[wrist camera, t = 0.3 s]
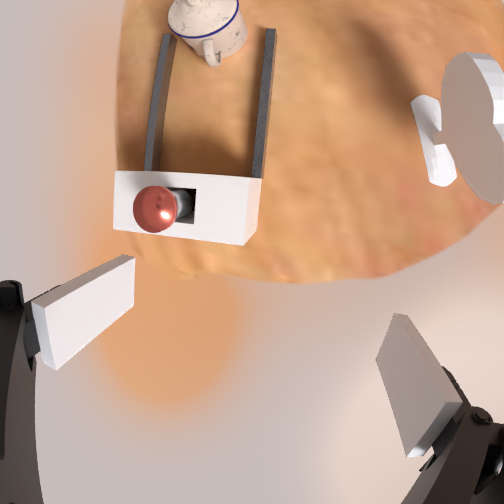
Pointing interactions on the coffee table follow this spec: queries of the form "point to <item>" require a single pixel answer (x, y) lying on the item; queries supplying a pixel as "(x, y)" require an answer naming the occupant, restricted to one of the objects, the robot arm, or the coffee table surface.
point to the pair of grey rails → (162, 92)
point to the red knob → (160, 207)
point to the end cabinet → (206, 206)
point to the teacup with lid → (209, 27)
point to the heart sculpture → (466, 126)
